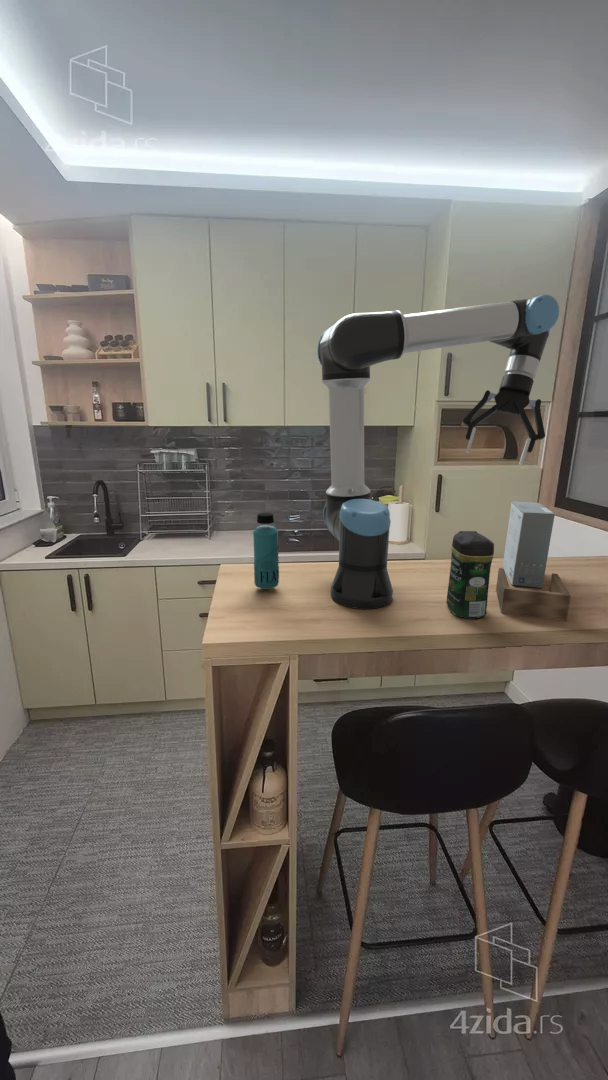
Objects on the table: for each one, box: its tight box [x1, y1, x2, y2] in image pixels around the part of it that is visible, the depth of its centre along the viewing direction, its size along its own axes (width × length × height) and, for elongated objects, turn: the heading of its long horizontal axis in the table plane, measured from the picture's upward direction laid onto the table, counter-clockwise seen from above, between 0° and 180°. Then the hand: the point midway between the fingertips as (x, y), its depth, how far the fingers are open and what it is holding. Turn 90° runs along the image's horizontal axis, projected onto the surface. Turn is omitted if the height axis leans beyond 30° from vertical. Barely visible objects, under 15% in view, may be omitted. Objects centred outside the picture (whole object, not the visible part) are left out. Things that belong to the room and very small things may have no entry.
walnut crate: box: [495, 567, 572, 622], centre depth 109 cm, size 13×14×6 cm
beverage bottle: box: [252, 512, 280, 590], centre depth 115 cm, size 6×7×20 cm
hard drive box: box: [502, 501, 556, 589], centre depth 125 cm, size 16×8×20 cm, turn 167°
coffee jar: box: [446, 530, 495, 620], centre depth 104 cm, size 10×8×19 cm
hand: (493, 458), depth 121 cm, fingers open, 13 cm apart
